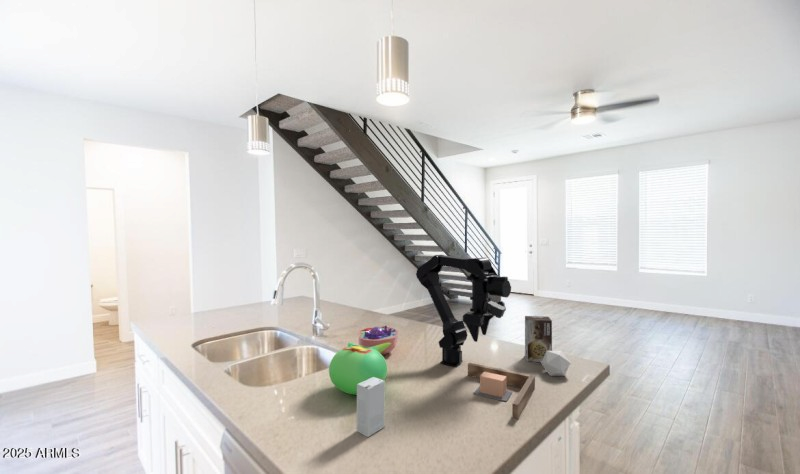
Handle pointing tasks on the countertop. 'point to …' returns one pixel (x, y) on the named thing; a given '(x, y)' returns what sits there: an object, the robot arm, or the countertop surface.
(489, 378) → the block
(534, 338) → the coffee box
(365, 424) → the skincare box
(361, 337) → the cell model
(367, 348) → the toy bird
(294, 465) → the countertop surface
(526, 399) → the wooden corner wall
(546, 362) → the die
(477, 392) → the mat
